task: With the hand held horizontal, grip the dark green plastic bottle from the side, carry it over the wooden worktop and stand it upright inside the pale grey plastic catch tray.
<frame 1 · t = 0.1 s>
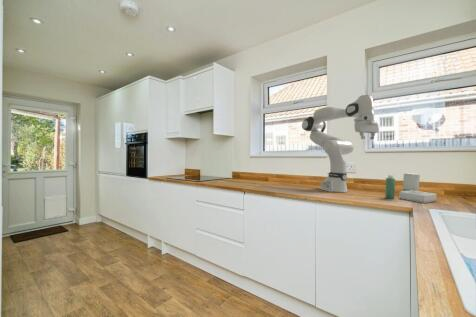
hand: (367, 139, 153), 39 cm above the counter, tool pointing down, fingers open, 8 cm apart
green bottle: (389, 198, 149), on the counter
skincare box: (410, 195, 161), on the counter
catch tray: (417, 199, 146), on the counter
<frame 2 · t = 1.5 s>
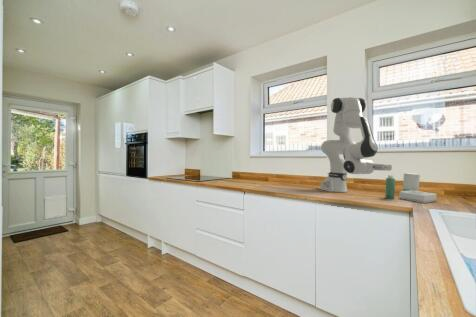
hand: (379, 166, 143), 21 cm above the counter, tool horizontal, fingers open, 8 cm apart
nothing on the counter moved.
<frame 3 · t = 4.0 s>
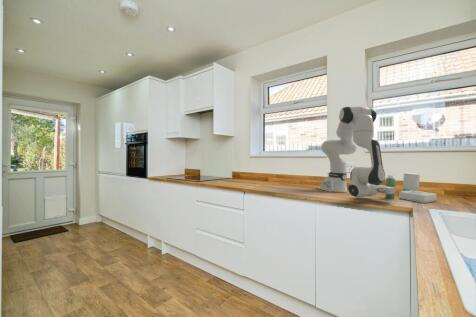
hand: (384, 187, 146), 7 cm above the counter, tool horizontal, fingers open, 8 cm apart
nothing on the counter moved.
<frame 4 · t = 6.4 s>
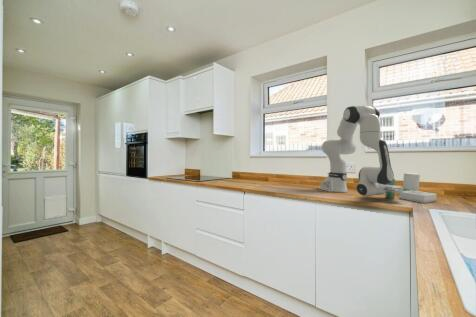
hand: (391, 186, 150), 8 cm above the counter, tool horizontal, fingers closed on green bottle, 5 cm apart
green bottle: (389, 198, 149), on the counter, touching gripper
everything else where it was.
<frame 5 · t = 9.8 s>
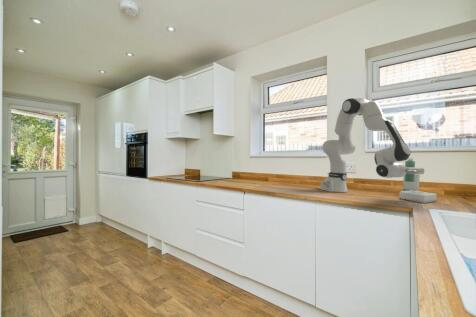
hand: (410, 169, 146), 19 cm above the counter, tool horizontal, fingers closed on green bottle, 5 cm apart
green bottle: (409, 181, 146), point 12 cm above the counter, touching gripper
everything else where it was.
when the fingers open (10 cm above the counter, at t = 13.3 s): green bottle drops 1 cm, resting on catch tray.
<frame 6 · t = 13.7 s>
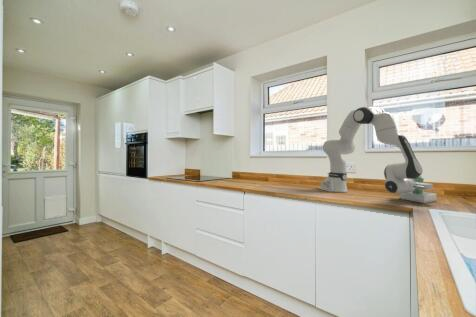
hand: (418, 184, 146), 10 cm above the counter, tool horizontal, fingers open, 8 cm apart
green bottle: (417, 198, 146), point 1 cm above the counter, touching catch tray
everything else where it was.
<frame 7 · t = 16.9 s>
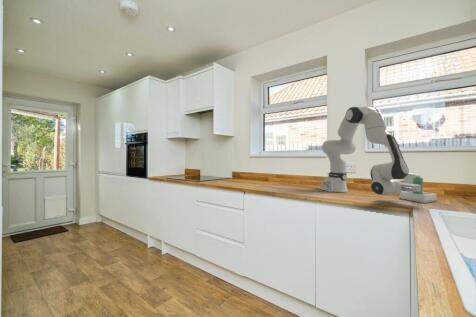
hand: (407, 185, 140), 10 cm above the counter, tool horizontal, fingers open, 8 cm apart
nothing on the counter moved.
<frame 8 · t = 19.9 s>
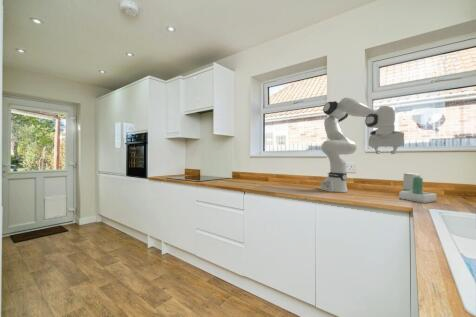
hand: (385, 153, 142), 29 cm above the counter, tool pointing down, fingers open, 8 cm apart
nothing on the counter moved.
at the end: green bottle inside the target area on the catch tray (0.1 cm from its centre), point 1.0 cm above the catch tray's base; green bottle tilted 1°; the gripper is holding nothing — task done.
